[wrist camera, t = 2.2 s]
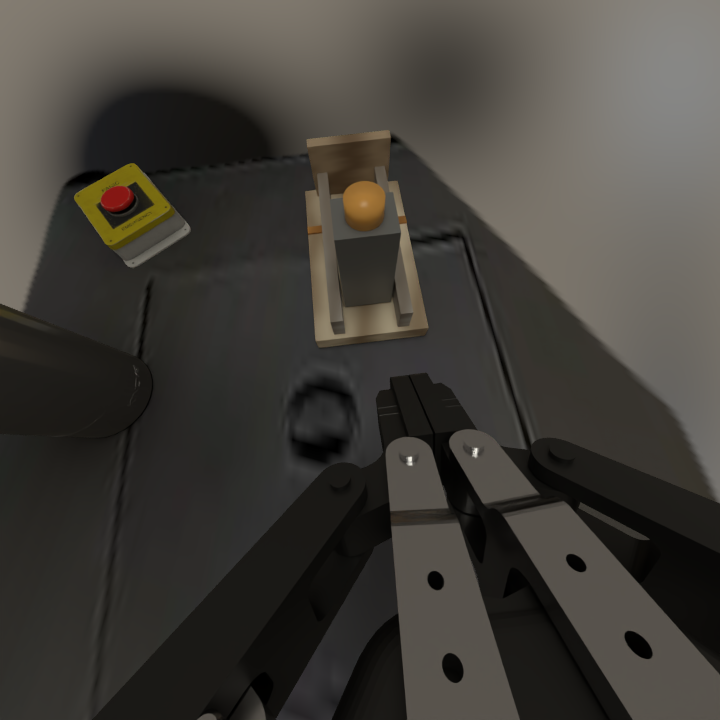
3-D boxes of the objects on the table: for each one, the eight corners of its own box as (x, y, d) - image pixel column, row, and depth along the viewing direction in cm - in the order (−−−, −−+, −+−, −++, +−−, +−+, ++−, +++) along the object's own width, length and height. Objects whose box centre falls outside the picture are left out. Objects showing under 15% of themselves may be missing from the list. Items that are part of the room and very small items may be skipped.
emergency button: (102, 250, 31) (53, 178, 35) (134, 273, 35) (87, 207, 39) (174, 206, 33) (119, 142, 36) (196, 233, 37) (145, 173, 41)
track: (319, 347, 31) (302, 314, 23) (308, 203, 37) (292, 141, 29) (424, 335, 31) (443, 298, 23) (395, 193, 37) (402, 128, 30)
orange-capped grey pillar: (345, 307, 30) (331, 223, 19) (341, 275, 31) (326, 179, 20) (390, 301, 30) (403, 215, 19) (385, 270, 31) (394, 172, 20)
